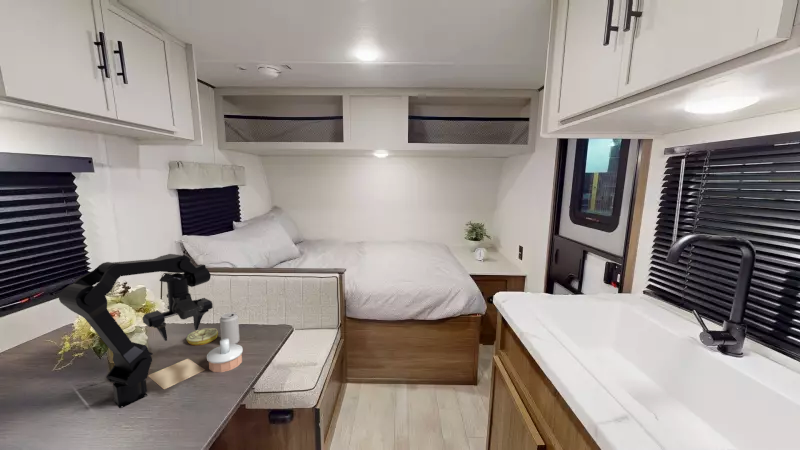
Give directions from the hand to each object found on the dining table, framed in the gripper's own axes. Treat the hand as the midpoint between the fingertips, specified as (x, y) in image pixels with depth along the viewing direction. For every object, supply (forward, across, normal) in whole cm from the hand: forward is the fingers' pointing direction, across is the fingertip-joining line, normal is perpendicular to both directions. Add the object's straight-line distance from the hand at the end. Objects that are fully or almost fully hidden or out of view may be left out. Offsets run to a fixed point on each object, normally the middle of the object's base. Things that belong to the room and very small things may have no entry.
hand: (181, 334), depth 106 cm
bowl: (+12, +9, -10) cm, 18 cm away
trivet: (+12, -3, -3) cm, 13 cm away
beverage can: (+12, +18, +3) cm, 22 cm away
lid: (+8, +9, -10) cm, 16 cm away
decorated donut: (+12, +12, +14) cm, 22 cm away
